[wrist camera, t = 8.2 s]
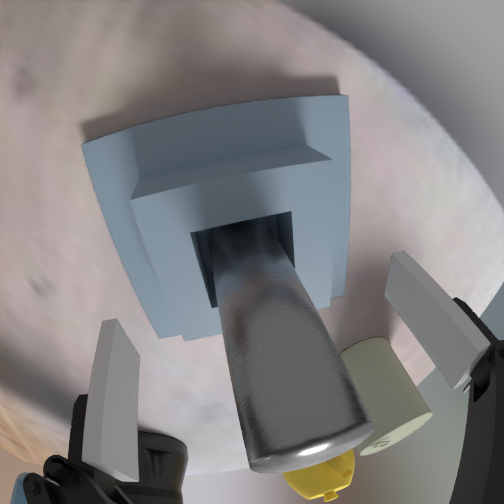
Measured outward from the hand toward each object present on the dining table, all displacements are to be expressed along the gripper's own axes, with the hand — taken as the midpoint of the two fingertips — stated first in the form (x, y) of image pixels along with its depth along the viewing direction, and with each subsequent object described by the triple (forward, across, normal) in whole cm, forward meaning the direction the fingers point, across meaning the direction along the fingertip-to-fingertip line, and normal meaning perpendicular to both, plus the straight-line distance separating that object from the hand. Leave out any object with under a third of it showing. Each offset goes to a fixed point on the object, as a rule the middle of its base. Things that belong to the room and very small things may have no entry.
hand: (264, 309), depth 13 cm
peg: (+7, 0, 0) cm, 7 cm away
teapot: (+8, +8, -54) cm, 55 cm away
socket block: (+8, 0, 0) cm, 8 cm away
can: (+8, +12, -22) cm, 26 cm away
